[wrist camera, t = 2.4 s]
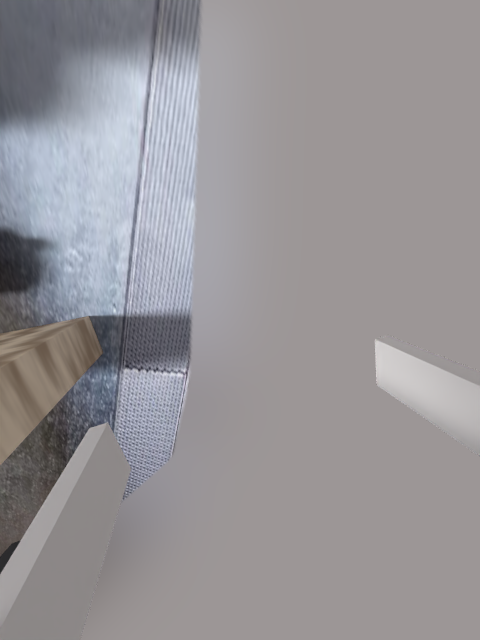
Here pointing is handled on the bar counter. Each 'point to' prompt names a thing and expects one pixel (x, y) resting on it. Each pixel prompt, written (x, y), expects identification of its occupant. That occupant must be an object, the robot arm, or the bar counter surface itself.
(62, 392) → the pedestal
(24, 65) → the bar counter surface
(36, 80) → the bar counter surface
